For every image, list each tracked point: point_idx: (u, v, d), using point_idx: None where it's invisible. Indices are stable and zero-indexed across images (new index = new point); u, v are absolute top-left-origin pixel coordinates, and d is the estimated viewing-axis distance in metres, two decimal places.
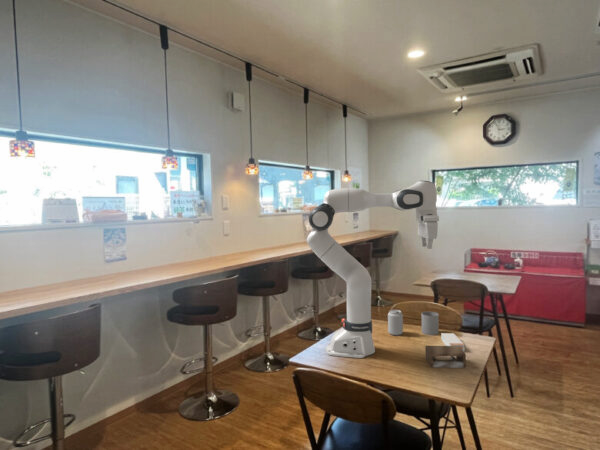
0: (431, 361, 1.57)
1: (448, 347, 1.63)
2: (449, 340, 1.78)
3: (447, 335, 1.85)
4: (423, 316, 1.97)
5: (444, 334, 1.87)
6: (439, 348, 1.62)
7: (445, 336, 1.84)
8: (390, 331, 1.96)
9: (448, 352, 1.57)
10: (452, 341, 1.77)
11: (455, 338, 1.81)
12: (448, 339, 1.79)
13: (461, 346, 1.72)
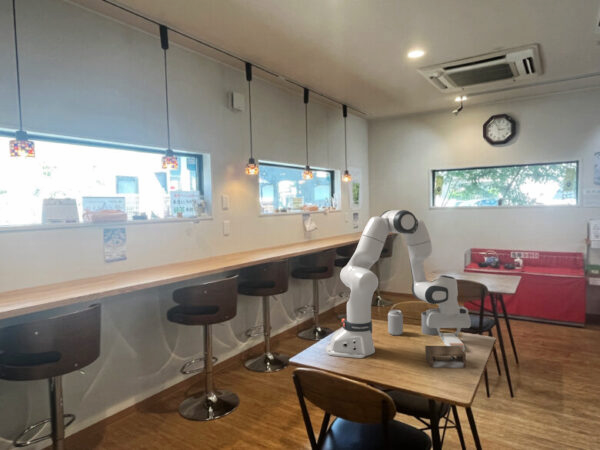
0: (431, 361, 1.57)
1: (448, 347, 1.63)
2: (449, 340, 1.78)
3: (447, 335, 1.85)
4: (423, 316, 1.97)
5: (444, 334, 1.87)
6: (439, 348, 1.62)
7: (445, 336, 1.84)
8: (390, 331, 1.96)
9: (448, 352, 1.57)
10: (452, 341, 1.77)
11: (455, 338, 1.81)
12: (448, 339, 1.79)
13: (461, 346, 1.72)
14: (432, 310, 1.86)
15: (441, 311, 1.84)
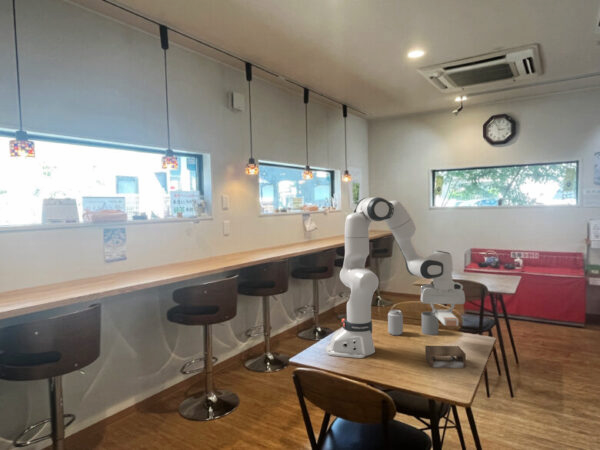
0: (431, 361, 1.57)
1: (448, 347, 1.63)
2: (443, 315, 1.76)
3: (441, 311, 1.83)
4: (423, 316, 1.97)
5: (438, 310, 1.84)
6: (439, 348, 1.62)
7: (439, 312, 1.82)
8: (390, 331, 1.96)
9: (448, 352, 1.57)
10: (446, 316, 1.75)
11: (449, 313, 1.79)
12: (442, 314, 1.77)
13: (455, 320, 1.70)
14: (426, 286, 1.84)
15: (435, 286, 1.82)
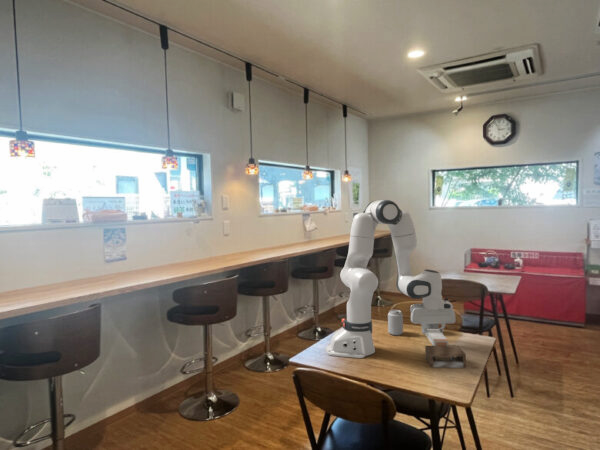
0: (431, 361, 1.57)
1: (448, 347, 1.63)
2: (433, 336, 1.73)
3: (431, 331, 1.80)
4: None
5: (429, 330, 1.81)
6: (439, 348, 1.62)
7: (429, 332, 1.79)
8: (390, 331, 1.96)
9: (448, 352, 1.57)
10: (436, 337, 1.72)
11: (440, 333, 1.76)
12: (432, 335, 1.74)
13: (445, 342, 1.67)
14: (416, 305, 1.81)
15: (425, 306, 1.79)
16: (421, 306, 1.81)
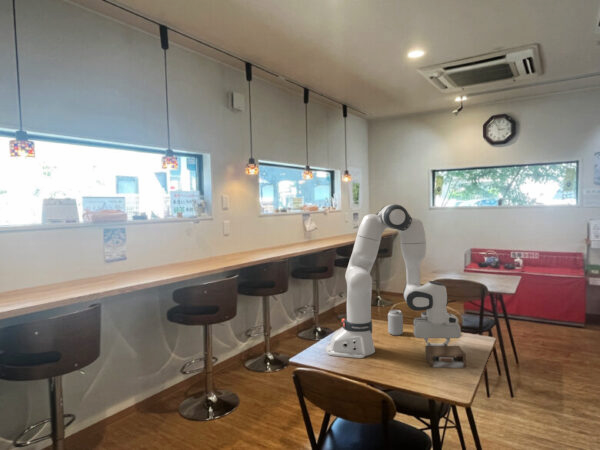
0: (431, 361, 1.57)
1: (448, 347, 1.63)
2: None
3: (435, 345, 1.72)
4: (423, 316, 1.97)
5: (432, 344, 1.73)
6: (439, 348, 1.62)
7: None
8: (390, 331, 1.96)
9: (448, 352, 1.57)
10: None
11: None
12: None
13: (450, 358, 1.59)
14: (419, 319, 1.73)
15: (429, 320, 1.71)
16: (425, 319, 1.73)
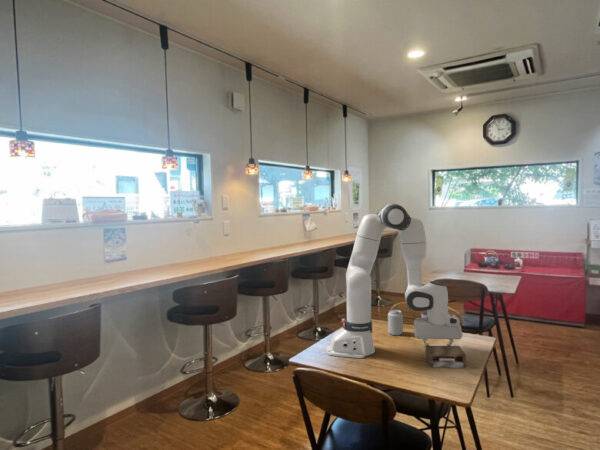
0: (431, 361, 1.57)
1: (448, 347, 1.63)
2: None
3: None
4: (423, 316, 1.97)
5: None
6: (439, 348, 1.62)
7: None
8: (390, 331, 1.96)
9: (448, 352, 1.57)
10: None
11: None
12: None
13: (451, 360, 1.57)
14: (420, 319, 1.71)
15: (430, 321, 1.69)
16: (425, 320, 1.71)
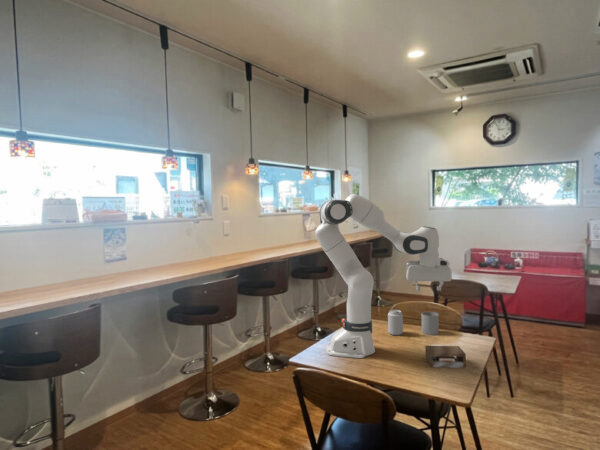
0: (431, 361, 1.57)
1: (448, 347, 1.63)
2: None
3: None
4: (423, 316, 1.97)
5: None
6: (439, 348, 1.62)
7: None
8: (390, 331, 1.96)
9: (448, 352, 1.57)
10: None
11: None
12: None
13: (451, 360, 1.57)
14: (412, 262, 1.79)
15: (421, 263, 1.77)
16: (417, 263, 1.79)
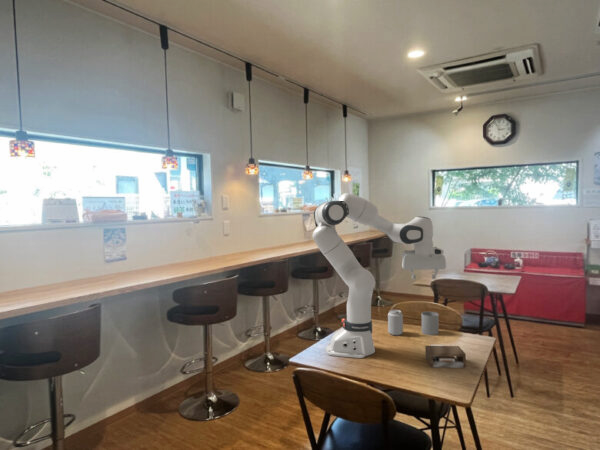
0: (431, 361, 1.57)
1: (448, 347, 1.63)
2: None
3: None
4: (423, 316, 1.97)
5: None
6: (439, 348, 1.62)
7: None
8: (390, 331, 1.96)
9: (448, 352, 1.57)
10: None
11: None
12: None
13: (451, 360, 1.57)
14: (407, 252, 1.84)
15: (416, 252, 1.81)
16: (412, 252, 1.83)
